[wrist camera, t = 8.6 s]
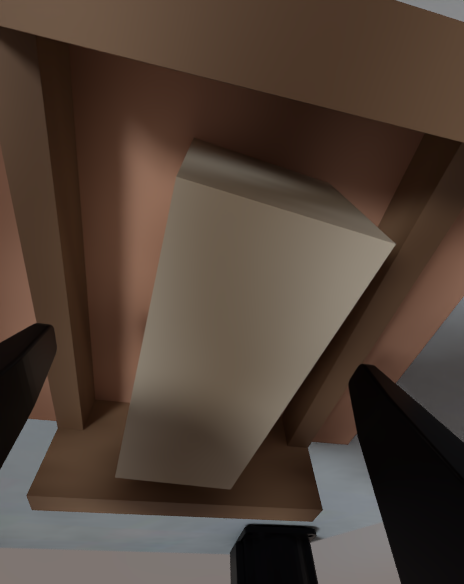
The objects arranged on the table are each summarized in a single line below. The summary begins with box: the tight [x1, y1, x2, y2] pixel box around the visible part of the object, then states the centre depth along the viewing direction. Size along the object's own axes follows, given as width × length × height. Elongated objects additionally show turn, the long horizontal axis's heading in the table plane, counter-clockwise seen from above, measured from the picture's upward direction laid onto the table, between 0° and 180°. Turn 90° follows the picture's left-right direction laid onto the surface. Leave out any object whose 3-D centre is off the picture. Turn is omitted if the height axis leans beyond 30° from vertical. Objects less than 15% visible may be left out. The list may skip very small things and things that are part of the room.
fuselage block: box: [115, 138, 396, 489], centre depth 9 cm, size 4×10×4 cm, turn 163°
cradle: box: [0, 0, 464, 522], centre depth 10 cm, size 18×17×5 cm
